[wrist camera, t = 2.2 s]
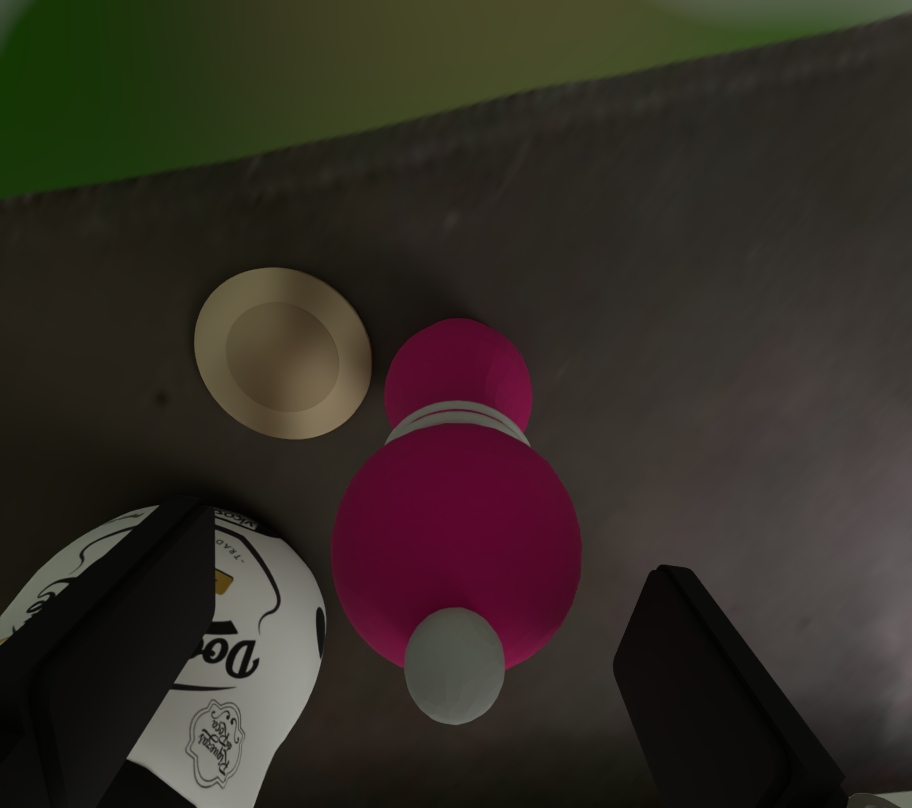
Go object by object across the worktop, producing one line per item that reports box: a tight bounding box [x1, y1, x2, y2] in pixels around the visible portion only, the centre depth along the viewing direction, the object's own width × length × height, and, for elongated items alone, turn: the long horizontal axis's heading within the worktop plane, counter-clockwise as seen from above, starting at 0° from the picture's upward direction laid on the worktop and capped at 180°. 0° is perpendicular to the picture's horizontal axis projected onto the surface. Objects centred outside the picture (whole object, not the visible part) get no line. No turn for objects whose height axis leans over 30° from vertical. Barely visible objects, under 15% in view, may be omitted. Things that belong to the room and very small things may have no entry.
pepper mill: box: [331, 318, 582, 725], centre depth 16 cm, size 7×7×20 cm
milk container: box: [0, 505, 326, 808], centre depth 23 cm, size 17×17×18 cm
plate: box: [194, 268, 373, 439], centre depth 25 cm, size 10×10×1 cm
